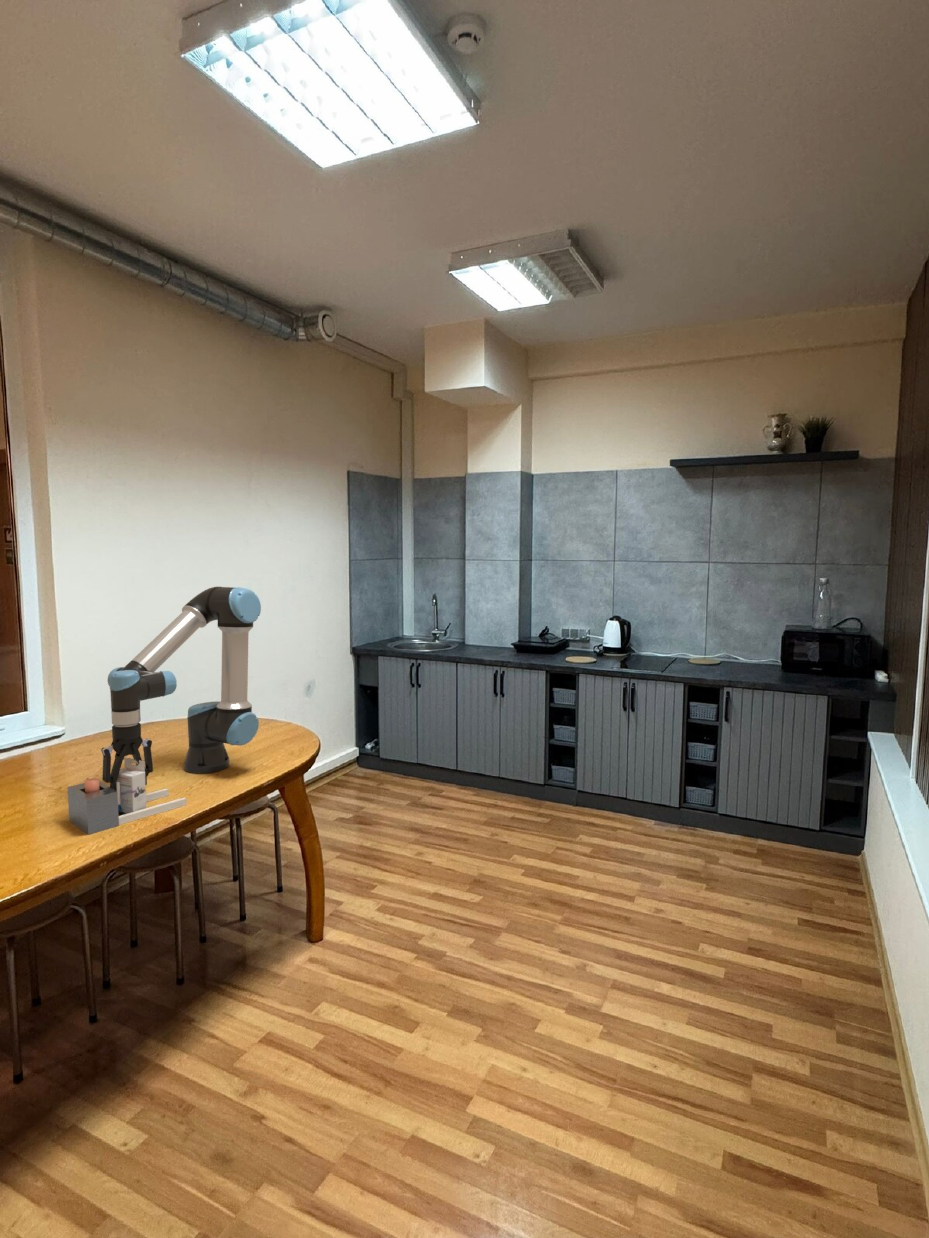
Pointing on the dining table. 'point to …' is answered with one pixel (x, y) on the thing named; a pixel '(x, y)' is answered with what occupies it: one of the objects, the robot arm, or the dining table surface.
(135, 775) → the ink box
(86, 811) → the grey rectangular block
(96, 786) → the gauge plunger
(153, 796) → the rail track
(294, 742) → the dining table surface
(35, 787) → the dining table surface
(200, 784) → the dining table surface
